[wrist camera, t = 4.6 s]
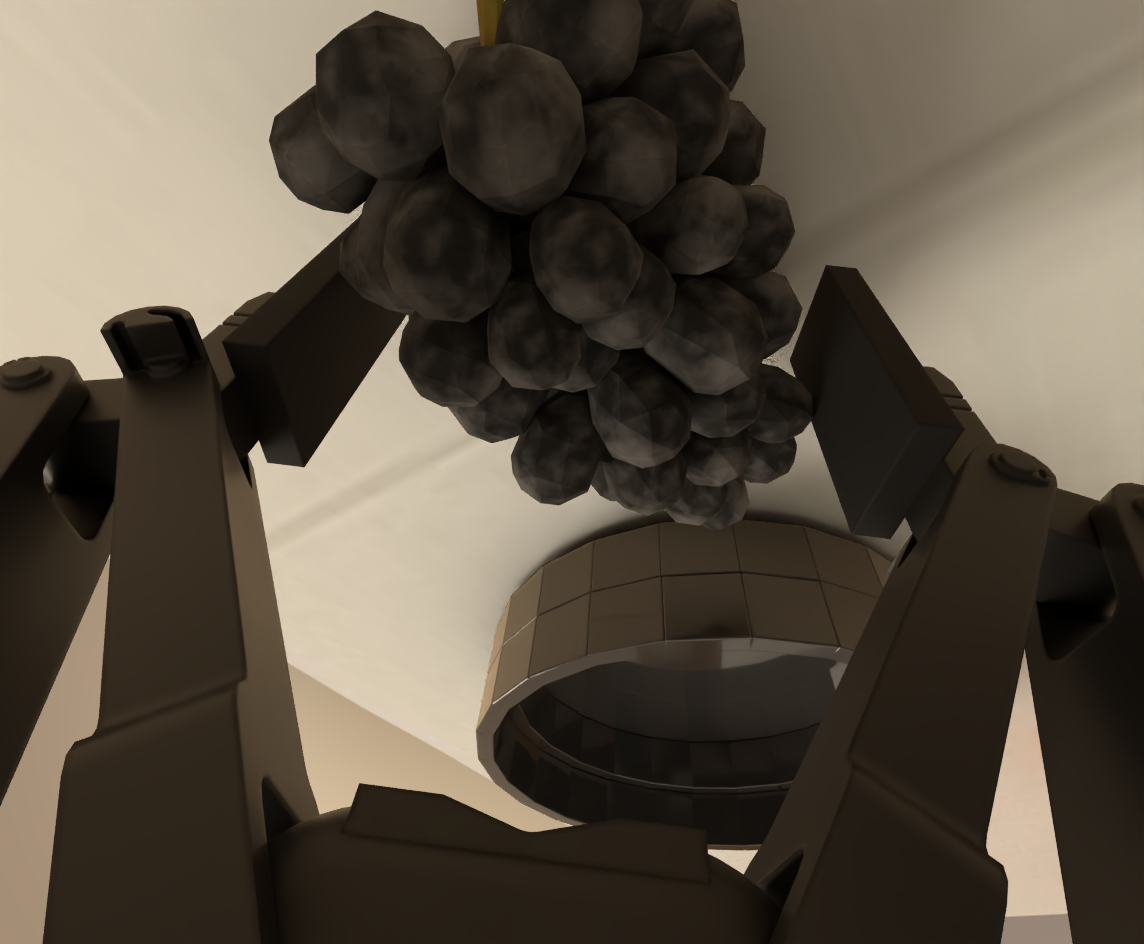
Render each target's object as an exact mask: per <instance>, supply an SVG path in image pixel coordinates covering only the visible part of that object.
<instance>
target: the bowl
mask: <svg viewBox="0 0 1144 944" xmlns="http://www.w3.org/2000/svg"><path fill="white" fill-rule="evenodd" d="M891 563H892V562H890V561H888V560H887V559H885V558H884V557H882V556H881V555H879V554H878V553H876V552H874V551H873V550H871V549H870V548H868V547H867V546H864V545H862V544H859V543H856V542H852V541H849V540H846V539H843V538H840V537H837V536H834V535H831V534H828V533H824V532H821V531H818V530H815V529H812V528H809V527H806V526H800V525H791V524H782V523H773V522H764V521H754V520H745V519H742V520H741V521H739V522H737V523H734V524H732V525H730V526H727V527H725V528H723V529H719V530H715V531H711V530H709V529H708V528H706V527H704V526H702V525H700V526H698V525H691V524H684V523H677V522H665V523H659V524H653V525H649V526H646V527H642V528H638V529H634V530H630V531H626V532H623V533H619V534H615V535H611V536H607V537H603V538H599V539H596V540H595V541H591V542H589V543H587V544H585V545H583V546H581V547H579V548H577V549H575V550H573V551H571V552H569V553H567V554H565V555H563V556H561V557H559V558H557V559H555V560H553V561H551V562H549V563H547V564H546V565H544V566H543V567H542V568H540V569H539V570H538V571H537V572H536V573H535V574H534V575H533V576H532V577H531V578H530V579H529V580H527V581H526V582H525V583H524V584H523V585H522V586H521V587H520V588H519V589H518V590H517V591H516V592H514V593H513V594H512V596H511V598H510V600H509V602H508V604H507V606H506V608H505V610H504V612H503V614H502V617H501V619H500V621H499V623H498V625H497V629H496V634H495V639H494V644H493V649H492V654H491V659H490V664H489V669H488V675H487V679H486V684H485V689H484V694H483V699H482V704H481V708H480V713H479V718H478V723H477V728H476V739H477V751H478V759H479V761H480V762H481V764H482V765H483V767H484V768H485V770H486V771H487V773H488V774H489V775H490V777H491V778H492V780H493V781H494V783H495V784H497V785H498V786H499V787H501V788H502V789H503V790H505V791H506V792H507V793H509V794H510V795H511V796H513V797H514V798H515V799H516V800H518V801H519V802H521V803H522V804H524V805H526V806H528V807H530V808H532V809H534V810H536V811H539V812H541V813H543V814H545V815H547V816H549V817H551V818H553V819H555V820H558V821H561V822H564V823H567V824H570V825H573V826H576V825H582V824H588V823H594V822H600V821H606V820H613V819H619V818H623V819H630V820H638V821H645V822H653V823H660V824H668V825H675V826H683V827H690V828H698V829H705V830H706V834H707V848H708V849H714V850H759V848H760V847H761V845H762V844H763V842H764V840H765V839H766V837H767V835H768V833H769V831H770V829H771V827H772V825H773V823H774V821H775V819H776V817H777V815H778V813H779V810H780V808H781V806H782V804H783V802H784V800H785V798H786V795H787V793H788V791H789V789H790V787H791V785H792V783H793V780H794V778H795V776H796V774H797V772H798V770H799V768H800V765H801V763H802V761H803V759H804V757H805V755H806V753H807V751H808V748H809V746H810V744H811V742H812V740H813V738H814V736H815V733H816V731H817V729H818V727H819V725H820V723H821V721H822V718H823V716H824V714H825V712H826V710H827V708H828V706H829V703H830V701H831V699H832V697H833V695H834V693H835V691H836V689H837V686H838V684H839V682H840V680H841V678H842V676H843V674H844V671H845V669H846V667H847V665H848V663H849V661H850V659H851V656H852V654H853V652H854V650H855V648H856V646H857V644H858V641H859V639H860V637H861V635H862V633H863V631H864V629H865V626H866V624H867V622H868V620H869V618H870V616H871V614H872V612H873V609H874V607H875V605H876V603H877V601H878V599H879V597H880V594H881V592H882V590H883V588H884V586H885V584H886V582H887V579H888V577H889V575H888V574H887V573H885V571H886V570H887V569H888V567H889V566H890V564H891Z"/></svg>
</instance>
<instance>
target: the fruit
mask: <svg viewBox="0 0 1144 944" xmlns="http://www.w3.org/2000/svg"><path fill="white" fill-rule="evenodd" d="M477 10H478V21H479V31H480V36H479V37H474V38H469V39H464V40H459V41H454V42H453V43H451V44H450V45H449V46H448V47H446V48H445V49H444V48H443V47H442V46H441V44H440V43H439V42H438V41H437V40H436V39H435V38H434V37H433V36H432V35H431V34H430V33H429V32H428V31H427V30H426V29H425V28H424V27H423V26H422V25H419V24H416V23H413V22H410V21H407V20H404V19H400V18H397V17H394V16H391V15H388V14H385V13H382V12H379V11H374V12H373V13H371V14H369V15H368V16H366V17H364V18H363V19H361V20H359V21H358V22H356V23H354V24H353V25H351V26H349V27H348V28H346V29H344V30H342V31H341V32H340V33H339V34H338V35H337V36H336V37H334V38H333V39H332V40H331V41H330V42H329V43H328V44H327V45H326V46H324V47H323V48H322V49H321V50H320V51H319V52H318V53H317V54H316V85H315V86H313V87H312V88H311V89H309V90H308V91H307V92H306V93H304V94H303V95H302V96H300V97H299V98H298V99H297V100H295V101H294V102H293V103H292V104H290V105H289V106H288V107H286V108H285V109H284V110H283V111H281V112H280V113H279V114H277V115H276V116H275V118H274V122H273V126H272V130H271V135H270V139H269V142H270V146H271V149H272V153H273V156H274V160H275V163H276V167H277V170H278V174H279V177H280V179H281V180H282V181H283V182H284V183H285V185H286V186H287V187H288V188H289V189H290V190H291V192H292V193H293V194H294V195H295V196H296V197H297V199H298V200H301V201H303V202H306V203H308V204H310V205H313V206H315V207H318V208H320V209H322V210H328V211H334V212H341V213H347V214H349V213H350V212H352V211H353V210H354V209H356V208H357V207H358V206H360V205H361V204H362V203H364V202H365V201H366V202H365V203H364V205H363V210H362V214H361V215H360V217H359V218H358V219H357V221H356V222H355V223H354V225H353V226H352V228H351V229H350V230H349V232H348V233H347V234H346V236H345V237H344V238H343V240H342V241H341V243H340V269H339V273H340V274H341V275H342V276H343V277H344V278H345V279H346V280H347V281H348V282H349V283H350V284H351V286H352V287H353V288H354V289H355V290H356V291H357V292H358V293H359V294H360V295H361V296H362V297H363V298H365V299H367V300H369V301H371V302H374V303H376V304H378V305H381V306H382V307H384V308H385V309H389V310H392V311H396V312H399V313H402V314H406V315H409V321H408V323H407V325H406V326H405V328H404V330H403V333H402V338H401V342H400V347H399V361H400V363H401V364H402V366H403V368H404V370H405V372H406V373H407V375H408V377H409V379H410V380H411V382H412V384H413V386H414V387H415V389H416V390H417V392H418V393H419V394H420V396H422V397H424V398H426V399H428V400H430V401H432V402H434V403H436V404H438V405H440V406H442V407H448V408H449V409H450V410H451V412H452V413H453V414H454V416H455V417H456V418H457V420H458V421H459V423H460V424H461V425H462V427H463V428H464V429H465V431H466V432H467V433H468V434H470V435H472V436H475V437H477V438H480V439H482V440H485V441H487V442H490V443H494V442H498V441H503V440H507V439H510V438H513V437H516V436H519V435H520V436H519V438H518V441H517V443H516V445H515V448H514V450H513V452H512V455H511V461H512V470H513V474H514V476H515V478H516V480H517V482H518V484H519V486H520V488H521V489H522V490H523V491H524V492H526V493H527V494H529V495H530V496H531V497H533V498H534V499H535V500H537V501H538V502H540V503H544V504H553V505H561V504H563V503H565V502H567V501H569V500H571V499H573V498H576V497H578V496H580V495H582V494H584V493H586V492H588V490H589V487H590V485H592V486H593V487H594V488H595V490H596V491H597V492H598V493H599V494H600V496H602V497H604V498H606V499H608V500H610V501H617V502H618V503H619V504H621V505H622V506H623V507H624V508H626V509H629V510H632V511H635V512H638V513H641V514H644V515H647V516H649V515H651V514H654V513H656V512H658V511H660V510H662V509H664V510H665V511H666V512H667V513H668V514H669V515H670V516H671V517H672V518H673V519H674V520H675V521H676V522H677V523H684V524H691V525H698V526H700V525H702V526H704V527H706V528H708V529H709V530H711V531H715V530H719V529H723V528H725V527H727V526H730V525H732V524H734V523H737V522H739V521H741V520H742V519H743V516H744V514H745V512H746V509H747V507H748V505H749V499H748V494H747V489H746V485H745V480H747V481H748V482H750V483H769V482H771V481H773V480H775V479H777V478H778V477H780V476H782V475H784V474H786V473H788V472H789V470H790V468H791V467H792V465H793V463H794V459H795V455H796V450H797V444H796V441H795V438H794V437H795V436H797V435H798V434H800V433H802V432H803V431H804V429H805V428H806V427H807V425H808V424H809V423H810V421H811V420H812V419H813V406H812V395H811V394H810V392H809V391H808V390H807V389H806V387H805V386H804V385H803V383H802V382H801V381H800V380H798V379H796V378H795V377H793V376H792V375H790V374H789V373H787V372H785V371H784V370H782V369H781V368H779V367H776V366H771V365H767V364H762V360H763V359H766V358H767V357H769V356H770V355H772V354H773V353H775V352H776V351H778V350H779V349H781V348H782V347H783V346H785V345H786V344H788V343H789V341H790V340H791V338H792V336H793V334H794V332H795V330H796V328H797V325H798V322H799V318H800V315H801V312H802V307H801V305H800V303H799V301H798V299H797V297H796V295H795V293H794V292H793V290H792V288H791V286H790V284H789V282H788V280H787V278H786V277H785V276H783V275H780V274H777V273H774V272H772V271H770V270H772V269H774V268H775V267H776V266H777V265H778V263H779V261H780V260H781V258H782V257H783V255H784V254H785V252H786V250H787V249H788V247H789V245H790V243H791V240H792V238H793V236H794V233H795V228H794V225H793V221H792V218H791V214H790V211H789V207H788V204H787V201H786V200H785V198H784V197H782V196H780V195H779V194H777V193H775V192H774V191H772V190H770V189H769V188H767V187H765V186H757V185H751V184H752V183H753V182H754V180H755V179H756V178H757V177H758V176H759V174H760V168H761V163H762V158H763V149H764V139H765V129H766V128H765V127H764V126H763V125H762V124H761V123H760V121H759V120H758V119H757V118H756V117H755V116H754V115H753V114H752V112H751V111H750V110H749V109H748V108H747V107H746V106H745V104H744V103H743V102H740V101H735V100H730V97H729V92H731V91H732V89H733V87H734V86H735V84H736V82H737V80H738V78H739V76H740V74H741V72H742V71H743V69H744V67H745V58H744V41H743V34H742V28H741V23H740V18H739V12H738V7H737V3H735V2H733V1H731V0H505V1H504V0H477ZM744 479H745V480H744Z"/></svg>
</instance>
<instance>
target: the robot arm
mask: <svg viewBox="0 0 1144 944" xmlns="http://www.w3.org/2000/svg"><path fill="white" fill-rule="evenodd" d="M356 221H357V220H355V221H354V222H353V223H352V224H351V225H350V226H349V227H348V228H347V229H345V230H344V231H343V232H342V233H341V234H340V235H339V236H338V237H337V238H336V239H334V240H333V241H332V242H331V243H330V244H329V245H328V246H327V247H326V248H324V249H323V250H322V251H321V252H320V253H319V254H318V255H317V256H316V257H315V258H313V259H312V260H311V261H310V262H309V263H308V264H307V265H306V266H305V267H303V268H302V269H301V270H300V271H299V272H298V273H297V274H296V275H295V276H294V277H292V278H291V279H290V280H289V281H288V282H287V283H286V284H285V285H284V286H282V287H281V288H280V289H279V290H278V291H277V292H276V293H273V292H267V293H265V294H262V295H260V296H258V297H256V298H253V299H251V300H249V301H247V302H246V303H244V304H243V305H242V306H241V307H240V308H239V309H238V310H236V311H235V312H234V315H231V316H229V317H228V318H227V319H226V320H225V321H224V322H223V325H219V326H218V327H217V328H215V329H214V330H213V331H212V332H211V333H210V334H208V335H207V336H206V337H205V338H204V339H203V340H202V339H201V336H200V334H199V331H198V329H197V326H196V324H195V321H194V319H193V317H192V315H191V314H190V312H188V311H186V310H184V309H182V308H178V307H170V306H153V307H145V308H140V309H135V310H130V311H128V312H125V313H122V314H120V315H117V316H115V317H113V318H112V319H110V320H109V321H107V322H106V323H105V324H104V325H103V327H102V329H101V330H100V331H101V333H102V335H103V337H104V339H105V341H106V343H107V344H108V346H109V348H110V350H111V352H112V354H113V356H114V358H115V360H116V362H117V363H118V365H119V367H120V369H121V371H122V373H123V378H118V379H103V380H88V381H83V379H82V378H81V376H80V374H79V373H78V371H77V369H76V368H75V366H74V365H73V363H72V362H71V361H70V360H68V359H65V358H61V357H55V356H39V357H32V358H31V357H24V358H20V359H18V360H17V361H16V360H12V361H9V362H6V363H4V365H2V366H0V806H1V803H2V801H3V798H4V796H5V794H6V792H7V789H8V787H9V785H10V783H11V780H12V778H13V776H14V773H15V771H16V769H17V767H18V764H19V762H20V760H21V757H22V755H23V753H24V750H25V748H26V746H27V744H28V741H29V739H30V737H31V734H32V732H33V730H34V727H35V725H36V723H37V720H38V718H39V716H40V713H41V711H42V709H43V707H44V704H45V702H46V700H47V698H48V695H49V693H50V690H51V688H52V686H53V684H54V681H55V679H56V676H57V675H58V672H59V670H60V668H61V665H62V663H63V661H64V658H65V656H66V653H67V651H68V649H69V647H70V644H71V642H72V640H73V638H74V635H75V633H76V631H77V628H78V626H79V624H80V622H81V619H82V617H83V615H84V612H85V610H86V608H87V606H88V603H89V601H90V598H91V596H92V594H93V592H94V589H95V587H96V585H97V583H98V580H99V578H100V576H101V573H102V571H103V569H104V566H105V564H106V562H107V559H108V557H109V555H110V568H109V582H108V596H107V610H106V624H105V639H104V652H103V666H102V680H101V694H100V708H99V719H98V725H97V729H96V730H95V732H94V734H93V735H92V736H90V737H88V738H85V739H82V740H79V741H76V742H75V743H74V744H73V746H72V747H71V749H70V750H69V752H68V753H67V755H66V758H65V762H64V766H63V770H62V775H61V781H60V790H59V799H58V808H57V817H56V826H55V835H54V845H53V854H52V863H51V872H50V881H49V890H48V899H47V908H46V917H45V926H44V936H43V944H1001V938H1002V932H1003V925H1004V919H1005V913H1006V907H1007V893H1008V879H1007V876H1006V873H1005V870H1004V866H1003V865H1002V864H1000V863H999V862H998V861H996V860H995V859H993V858H992V857H991V856H989V855H988V852H987V848H986V840H987V832H988V827H989V822H990V817H991V812H992V807H993V802H994V797H995V792H996V787H997V782H998V777H999V772H1000V767H1001V763H1002V758H1003V753H1004V748H1005V743H1006V738H1007V733H1008V728H1009V723H1010V718H1011V713H1012V708H1013V703H1014V698H1015V693H1016V688H1017V684H1018V679H1019V674H1020V669H1021V664H1022V659H1023V654H1024V649H1025V652H1026V659H1027V665H1028V671H1029V677H1030V683H1031V689H1032V696H1033V702H1034V708H1035V714H1036V720H1037V726H1038V732H1039V739H1040V745H1041V751H1042V757H1043V763H1044V769H1045V776H1046V782H1047V788H1048V794H1049V800H1050V806H1051V812H1052V819H1053V825H1054V831H1055V837H1056V843H1057V849H1058V856H1059V862H1060V868H1061V874H1062V880H1063V886H1064V893H1065V899H1066V905H1067V911H1068V917H1069V923H1070V929H1071V936H1072V942H1073V944H1144V485H1140V484H1134V483H1122V484H1118V485H1116V486H1115V487H1114V488H1112V489H1111V490H1110V491H1109V492H1108V493H1107V494H1106V495H1105V496H1104V497H1103V498H1102V499H1101V500H1100V501H1097V500H1094V499H1091V498H1088V497H1084V496H1081V495H1078V494H1075V493H1072V492H1068V491H1065V490H1062V489H1059V488H1057V481H1056V477H1055V475H1054V474H1053V473H1052V472H1051V470H1050V469H1049V468H1048V467H1047V466H1046V465H1045V464H1043V463H1042V462H1041V461H1039V460H1038V459H1037V458H1035V457H1033V456H1031V455H1029V454H1027V453H1025V452H1023V451H1021V450H1019V449H1016V448H1013V447H1010V446H1007V445H1004V444H997V443H996V441H995V440H994V439H993V437H992V436H991V435H990V433H989V432H988V430H987V429H986V428H985V426H984V425H983V423H982V422H981V421H980V419H979V418H978V416H977V415H976V414H975V412H972V411H971V410H972V408H971V407H970V405H969V404H968V403H967V401H966V400H965V399H963V396H962V394H961V393H960V391H959V390H958V389H957V387H956V386H955V385H954V383H953V382H952V381H951V380H949V379H948V378H947V377H945V376H944V375H943V374H941V373H940V372H939V371H937V370H936V369H935V368H933V367H924V366H922V365H921V363H920V362H919V360H918V359H917V358H916V356H915V355H914V353H913V352H912V350H911V349H910V347H909V346H908V344H907V343H906V341H905V340H904V338H903V337H902V335H901V334H900V332H899V331H898V329H897V328H896V326H895V325H894V323H893V322H892V320H891V319H890V317H889V316H888V314H887V313H886V312H885V310H884V309H883V307H882V306H881V304H880V303H879V301H878V300H877V298H876V297H875V295H874V294H873V292H872V291H871V289H870V288H869V286H868V285H867V283H866V282H865V280H864V279H863V277H862V276H861V274H860V273H859V271H858V270H857V269H856V268H848V267H839V266H830V265H826V266H825V269H824V272H823V274H822V277H821V279H820V282H819V285H818V287H817V290H816V293H815V295H814V298H813V300H812V303H811V306H810V308H809V311H808V313H807V316H806V319H805V321H804V324H803V327H802V329H801V332H800V334H799V337H798V340H797V342H796V345H795V348H794V350H793V353H792V355H791V358H790V362H791V365H792V368H793V371H794V374H795V376H796V379H798V380H800V381H801V382H802V383H803V385H804V386H805V387H806V389H807V390H808V391H809V392H810V394H811V395H812V406H813V419H812V420H811V421H812V424H813V427H814V430H815V433H816V436H817V438H818V441H819V444H820V447H821V450H822V452H823V455H824V458H825V461H826V464H827V467H828V469H829V472H830V475H831V478H832V481H833V483H834V486H835V489H836V492H837V495H838V498H839V500H840V503H841V506H842V509H843V512H844V514H845V517H846V520H847V523H848V526H849V529H850V531H851V534H854V535H862V536H870V537H878V538H886V539H891V537H892V536H893V534H894V533H895V531H896V530H897V528H898V527H899V525H900V524H901V522H902V521H903V520H904V518H906V520H907V522H908V524H909V527H910V529H911V531H912V533H913V534H912V535H911V536H910V538H909V539H908V541H907V542H906V543H905V545H904V546H903V548H902V549H901V550H900V552H899V553H898V555H897V556H896V557H895V559H894V560H893V562H892V563H891V564H890V566H889V567H888V569H887V570H886V571H885V573H887V574H888V575H889V577H888V579H887V582H886V584H885V586H884V588H883V590H882V592H881V594H880V597H879V599H878V601H877V603H876V605H875V607H874V609H873V612H872V614H871V616H870V618H869V620H868V622H867V624H866V626H865V629H864V631H863V633H862V635H861V637H860V639H859V641H858V644H857V646H856V648H855V650H854V652H853V654H852V656H851V659H850V661H849V663H848V665H847V667H846V669H845V671H844V674H843V676H842V678H841V680H840V682H839V684H838V686H837V689H836V691H835V693H834V695H833V697H832V699H831V701H830V703H829V706H828V708H827V710H826V712H825V714H824V716H823V718H822V721H821V723H820V725H819V727H818V729H817V731H816V733H815V736H814V738H813V740H812V742H811V744H810V746H809V748H808V751H807V753H806V755H805V757H804V759H803V761H802V763H801V765H800V768H799V770H798V772H797V774H796V776H795V778H794V780H793V783H792V785H791V787H790V789H789V791H788V793H787V795H786V798H785V800H784V802H783V804H782V806H781V808H780V810H779V813H778V815H777V817H776V819H775V821H774V823H773V825H772V827H771V829H770V831H769V833H768V835H767V837H766V839H765V840H764V842H763V844H762V845H761V847H760V848H759V850H758V852H757V853H756V855H755V856H754V858H753V859H752V861H751V862H750V864H749V866H748V868H747V870H746V871H745V873H744V875H743V874H742V873H740V872H739V871H737V870H736V869H734V868H732V867H731V866H729V865H727V864H726V863H724V862H723V861H721V860H719V859H718V858H715V857H713V856H711V855H709V854H708V848H707V834H706V830H705V829H698V828H690V827H683V826H675V825H668V824H660V823H653V822H645V821H638V820H630V819H623V818H619V819H613V820H606V821H600V822H594V823H588V824H582V825H576V826H570V827H564V828H558V829H552V830H546V831H540V832H526V831H522V830H520V829H517V828H515V827H513V826H511V825H509V824H507V823H504V822H502V821H500V820H498V819H495V818H493V817H491V816H489V815H487V814H484V813H483V812H480V811H478V810H476V809H474V808H472V807H469V806H467V805H465V804H463V803H461V802H458V801H456V800H454V799H452V798H450V797H448V796H446V795H443V794H435V793H428V792H421V791H413V790H406V789H398V788H391V787H383V786H375V785H368V784H361V783H360V784H359V786H358V789H357V792H356V794H355V798H354V800H353V803H352V806H351V807H346V808H341V809H337V810H334V811H330V812H327V813H324V814H320V815H319V812H318V808H317V804H316V801H315V798H314V795H313V792H312V789H311V786H310V783H309V779H308V776H307V772H306V767H305V762H304V756H303V751H302V745H301V739H300V733H299V727H298V722H297V717H296V710H295V705H294V699H293V693H292V687H291V681H290V675H289V670H288V664H287V658H286V652H285V647H284V641H283V635H282V629H281V624H280V618H279V612H278V606H277V600H276V595H275V589H274V583H273V577H272V572H271V566H270V560H269V554H268V549H267V543H266V537H265V531H264V526H263V520H262V514H261V508H260V502H259V497H258V491H257V485H256V479H255V474H254V468H253V466H252V463H251V461H250V458H249V456H248V453H249V452H250V450H251V449H252V448H253V447H254V445H255V444H256V443H257V442H258V440H259V442H260V444H261V447H262V450H263V452H264V455H265V458H266V460H267V463H275V464H283V465H291V466H299V467H305V466H306V464H307V463H308V461H309V460H310V458H311V457H312V455H313V454H314V452H315V451H316V449H317V448H318V446H319V445H320V443H321V442H322V440H323V439H324V437H325V436H326V434H327V433H328V431H329V430H330V428H331V427H332V425H333V424H334V422H335V421H336V419H337V418H338V416H339V415H340V413H341V412H342V410H343V409H344V407H345V406H346V405H347V403H348V402H349V400H350V399H351V397H352V396H353V394H354V393H355V391H356V390H357V388H358V387H359V385H360V384H361V382H362V381H363V379H364V378H365V376H366V375H367V373H368V372H369V370H370V369H371V367H372V366H373V364H374V363H375V361H376V360H377V358H378V357H379V355H380V354H381V352H382V351H383V349H384V348H385V346H386V345H387V343H388V342H389V340H390V339H391V337H392V336H393V334H394V333H395V331H396V330H397V328H398V327H399V325H400V324H401V322H402V321H403V319H404V318H405V316H406V314H402V313H399V312H396V311H392V310H389V309H385V308H384V307H382V306H381V305H378V304H376V303H374V302H371V301H369V300H367V299H365V298H363V297H362V296H361V295H360V294H359V293H358V292H357V291H356V290H355V289H354V288H353V287H352V286H351V284H350V283H349V282H348V281H347V280H346V279H345V278H344V277H343V276H342V275H341V274H340V273H339V269H340V243H341V241H342V240H343V238H344V237H345V236H346V234H347V233H348V232H349V230H350V229H351V228H352V226H353V225H354V223H355V222H356ZM44 482H45V483H44Z"/></svg>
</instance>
